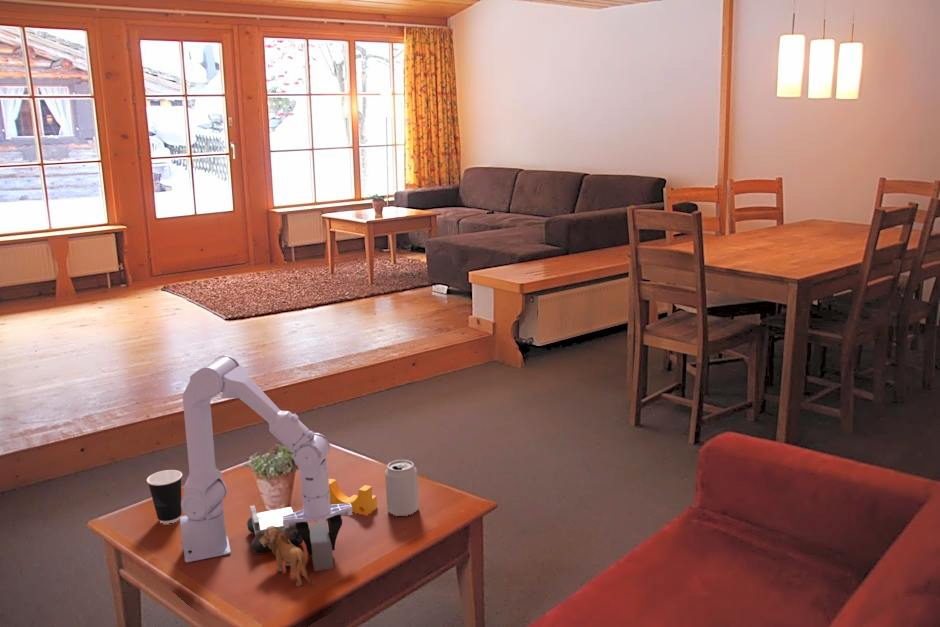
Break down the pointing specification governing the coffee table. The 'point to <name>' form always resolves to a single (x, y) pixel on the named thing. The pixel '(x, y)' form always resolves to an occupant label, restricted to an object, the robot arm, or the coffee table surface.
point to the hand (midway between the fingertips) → (320, 550)
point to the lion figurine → (285, 552)
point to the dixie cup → (166, 495)
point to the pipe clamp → (354, 498)
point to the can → (401, 488)
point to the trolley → (270, 518)
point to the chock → (321, 547)
